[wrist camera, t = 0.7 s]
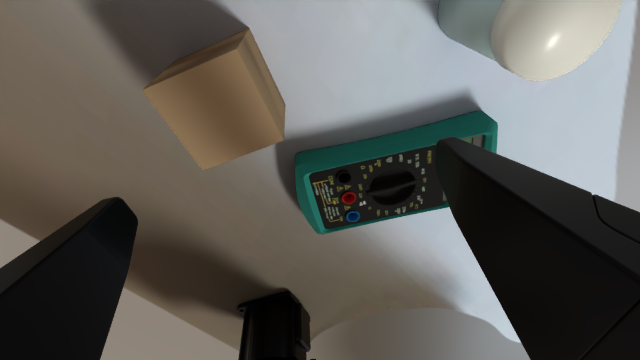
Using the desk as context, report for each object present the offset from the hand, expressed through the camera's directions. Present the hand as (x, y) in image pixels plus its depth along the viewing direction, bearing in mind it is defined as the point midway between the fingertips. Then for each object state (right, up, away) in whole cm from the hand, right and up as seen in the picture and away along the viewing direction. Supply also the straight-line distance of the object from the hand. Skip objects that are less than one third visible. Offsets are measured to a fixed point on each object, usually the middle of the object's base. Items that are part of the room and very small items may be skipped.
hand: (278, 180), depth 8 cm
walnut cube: (-4, +6, +11) cm, 13 cm away
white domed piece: (+10, +10, +9) cm, 17 cm away
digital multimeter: (+7, +1, +16) cm, 18 cm away
